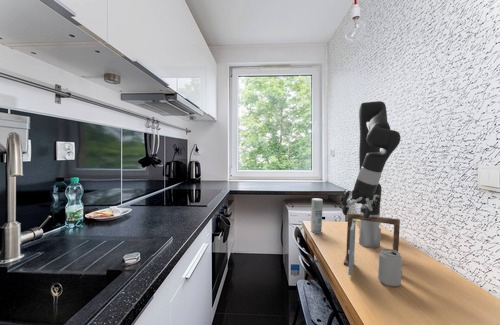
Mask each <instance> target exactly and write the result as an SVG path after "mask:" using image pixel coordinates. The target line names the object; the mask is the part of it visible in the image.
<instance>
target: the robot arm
mask: <svg viewBox="0 0 500 325" xmlns="http://www.w3.org/2000/svg"><path fill="white" fill-rule="evenodd" d="M358 118H359V119H358V120H359V121H358V122H359V148H358V149H359V152H358V153H359V154H358V160H359V164H358V165H359V171H358V175H357V178H356V180H355V183H354V186H353V190H352V191H351V190H348V189H346V188H345V189H344V191H343V193H342V195H341V198H340V200H339V201H340V203H341V205H342V206H343V208H342V210H341V212H342V214H343V215H344V216H348V213H349V209H350V207H351V206H352V205H353V206H354V205H355V204H358V205H359V204H361V206H360V213H359V214H363V217H364V218H366V219H367V218H368V217H369V216H370V215H371V216H378V217H381V216H380V215H381V200H382V192H383V191H382V185H381V183H380V180H381V177H382V174H383V170H384V168H385V166H386V163H387V161H388V159H389V158H390V156H391V155H392V153H393V152H394V151H395V150H396V148H398V146H399V144H400V142H401V134H400V132H399V131H397V130H393V129H391V126H390V124H389V121H388V113H387V106H386V104H385V102H384V101H379V100H378V101H368V102H362V103H360V104H359V108H358ZM367 123H368V125H367ZM381 149H382V150H381ZM370 200H373V203H371V204H370ZM362 204H363V205H364V204H366V205H364V206H362ZM359 230H360V231H359V234H358V235H359V236H358V244H360V245H361V246H363V247H366V248H371V249H372V248H373V249H374V248H375V249H376V248H378V247H381V235H382V229H381V228H380V225H379V222H372V221H365V220H360V229H359Z"/></svg>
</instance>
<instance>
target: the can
mask: <svg viewBox="0 0 500 325" xmlns="http://www.w3.org/2000/svg"><path fill="white" fill-rule="evenodd" d="M402 269H403V257H402V256H401V252H399V250H398V251H396V250H393V248H382V249H381V250H380V251H379V253H378V269H377V270H378V271H377V272H378V273H377V278H378V280H379V281H380V282H381V283H382V284H383V285H386V286H387V287H392V288H395V287H398V286H400V285H402V272H403V270H402Z"/></svg>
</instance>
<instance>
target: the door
mask: <svg viewBox="0 0 500 325" xmlns="http://www.w3.org/2000/svg"><path fill="white" fill-rule="evenodd" d="M356 227H357V224H356V221H355V220H353V221H352V226H351V229H350V248H349V250H348V254H349V266H348V272H347V273H348V274H347V275H349V276H352V274H353V273H352V272H353V268H354V263H355V249H356V248H355V246H356V244H355V243H356V241H355V240H356Z"/></svg>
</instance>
